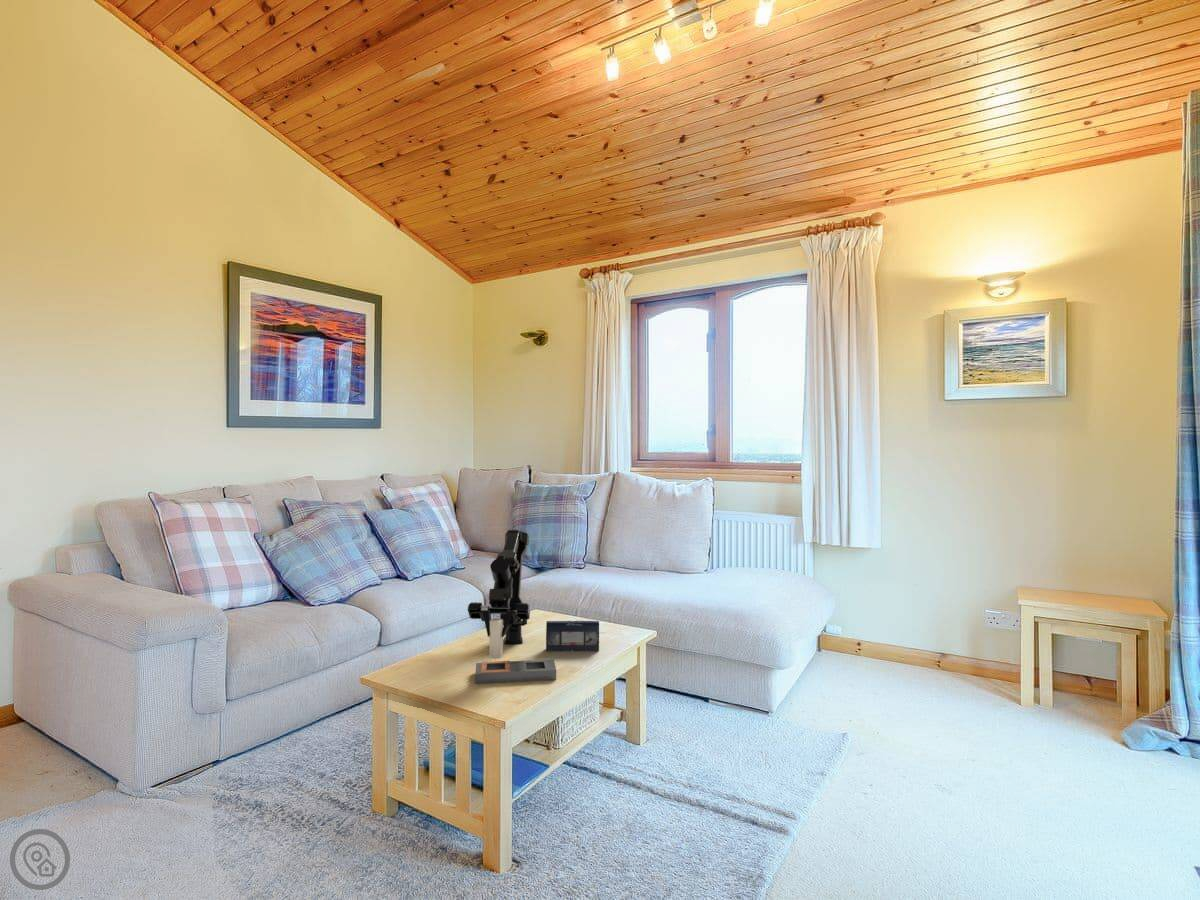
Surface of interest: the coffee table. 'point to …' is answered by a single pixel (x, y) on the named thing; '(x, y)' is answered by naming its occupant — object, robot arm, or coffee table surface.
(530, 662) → the rail
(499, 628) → the peg
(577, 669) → the coffee table surface
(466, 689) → the coffee table surface
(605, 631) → the coffee table surface
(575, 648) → the vhs cassette tape
